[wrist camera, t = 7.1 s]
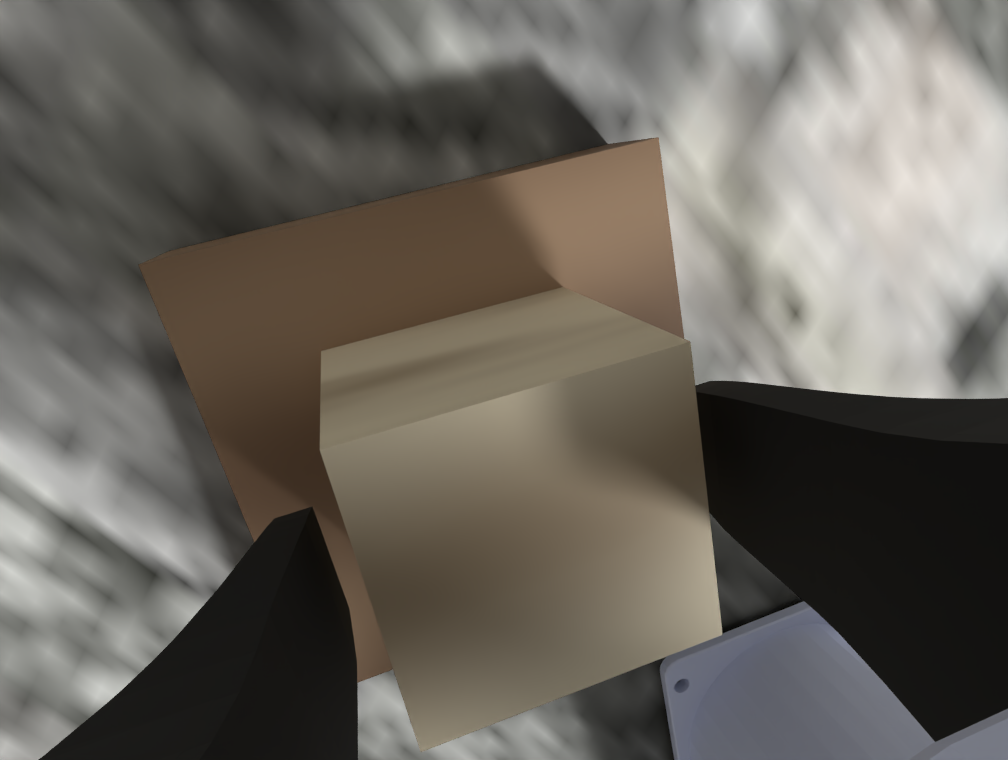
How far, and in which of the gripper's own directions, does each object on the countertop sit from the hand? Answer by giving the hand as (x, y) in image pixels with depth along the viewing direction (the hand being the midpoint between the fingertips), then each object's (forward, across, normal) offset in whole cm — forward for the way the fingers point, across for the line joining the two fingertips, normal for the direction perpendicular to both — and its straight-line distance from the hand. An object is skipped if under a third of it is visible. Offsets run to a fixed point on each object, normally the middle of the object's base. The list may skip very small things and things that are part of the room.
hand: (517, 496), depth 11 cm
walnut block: (+6, 0, 0) cm, 6 cm away
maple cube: (+3, 0, 0) cm, 3 cm away
